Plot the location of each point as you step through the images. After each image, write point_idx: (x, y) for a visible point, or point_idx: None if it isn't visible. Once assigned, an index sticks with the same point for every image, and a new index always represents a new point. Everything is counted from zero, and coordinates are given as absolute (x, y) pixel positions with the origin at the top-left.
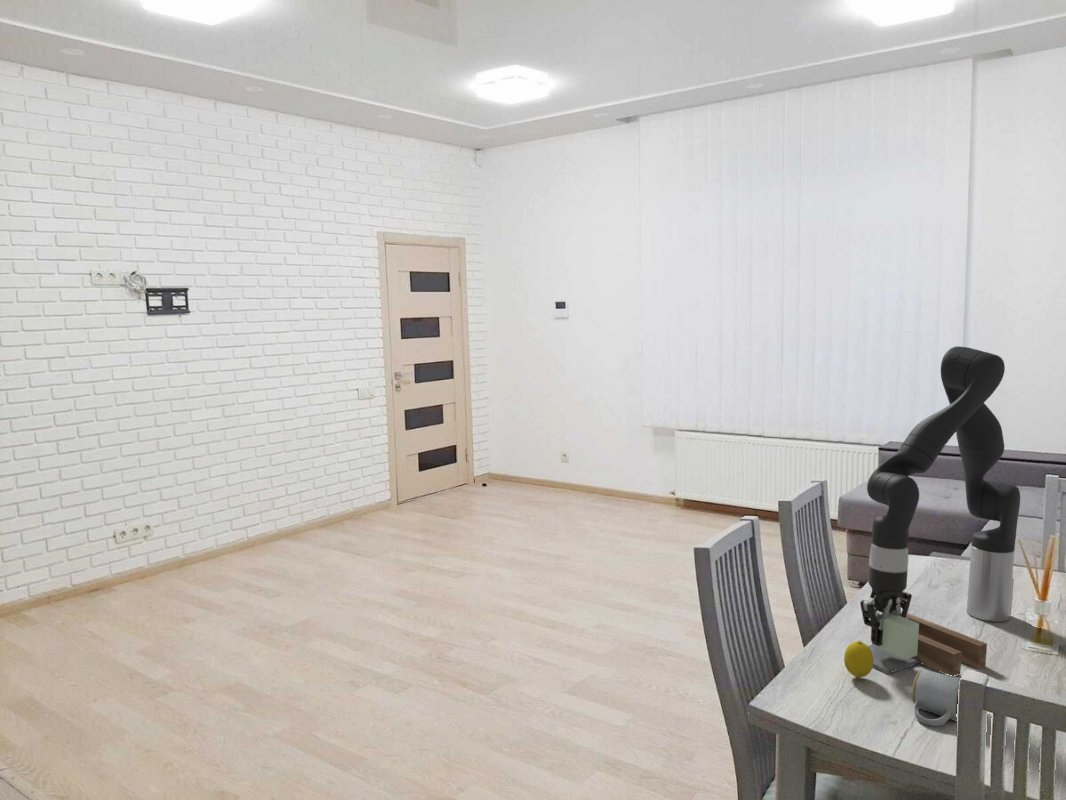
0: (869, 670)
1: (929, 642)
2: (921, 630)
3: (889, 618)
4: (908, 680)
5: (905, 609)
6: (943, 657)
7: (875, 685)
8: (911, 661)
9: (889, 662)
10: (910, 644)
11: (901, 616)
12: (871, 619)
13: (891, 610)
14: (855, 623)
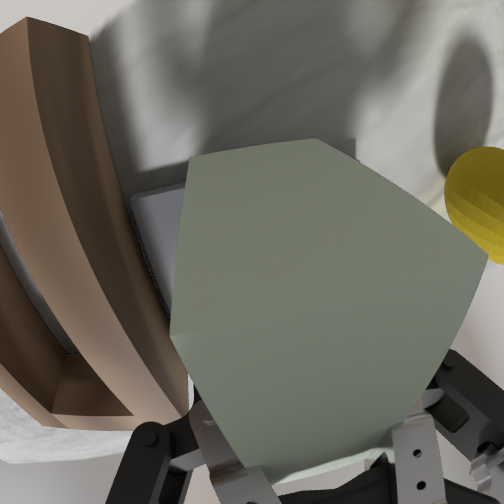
0: (486, 147)
1: (49, 224)
2: (25, 358)
3: (378, 428)
4: (317, 71)
5: (140, 498)
6: (59, 83)
7: (447, 112)
8: (175, 196)
9: None
10: (292, 169)
11: (169, 451)
12: (491, 386)
13: (316, 498)
14: None
